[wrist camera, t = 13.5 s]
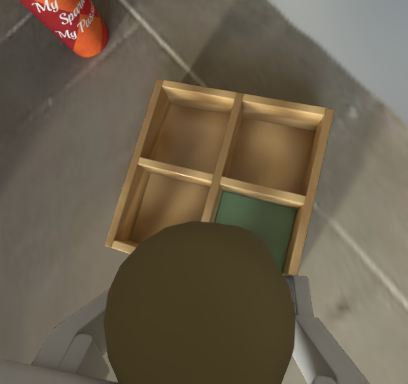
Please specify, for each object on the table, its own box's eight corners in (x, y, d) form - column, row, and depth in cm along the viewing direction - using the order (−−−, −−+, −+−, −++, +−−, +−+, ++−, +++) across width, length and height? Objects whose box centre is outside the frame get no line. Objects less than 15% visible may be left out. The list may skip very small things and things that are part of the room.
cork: (176, 227, 18) (65, 208, 7) (271, 221, 17) (310, 188, 6) (179, 327, 17) (56, 484, 6) (282, 326, 16) (351, 507, 5)
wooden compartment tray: (125, 244, 32) (104, 245, 27) (169, 100, 34) (156, 78, 30) (284, 293, 28) (291, 304, 24) (321, 128, 31) (335, 108, 26)
